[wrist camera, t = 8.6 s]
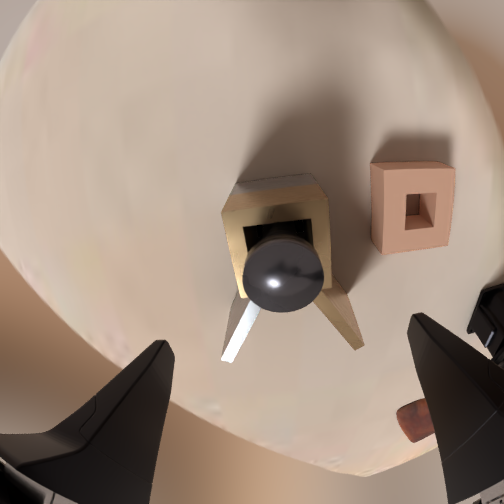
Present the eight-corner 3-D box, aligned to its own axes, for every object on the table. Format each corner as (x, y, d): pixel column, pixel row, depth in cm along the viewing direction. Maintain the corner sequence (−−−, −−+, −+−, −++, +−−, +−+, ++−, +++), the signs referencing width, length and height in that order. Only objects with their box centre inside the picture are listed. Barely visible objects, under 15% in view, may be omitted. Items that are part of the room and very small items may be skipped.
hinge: (345, 170, 17) (375, 194, 12) (347, 298, 22) (363, 348, 17) (201, 189, 19) (174, 220, 14) (231, 311, 24) (222, 363, 19)
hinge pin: (299, 185, 18) (322, 239, 11) (304, 232, 20) (324, 307, 12) (248, 191, 19) (234, 250, 11) (256, 238, 20) (249, 315, 13)
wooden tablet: (392, 407, 33) (394, 415, 32) (447, 380, 30) (451, 387, 29) (407, 443, 43) (409, 448, 42) (445, 425, 40) (447, 430, 38)
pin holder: (437, 161, 16) (455, 168, 14) (433, 232, 19) (447, 245, 17) (370, 163, 17) (383, 170, 15) (371, 239, 20) (381, 255, 18)
